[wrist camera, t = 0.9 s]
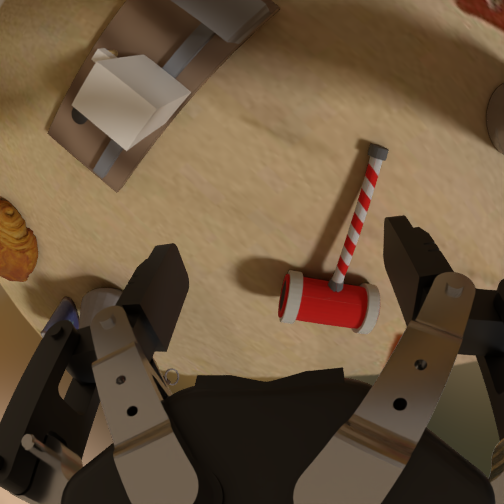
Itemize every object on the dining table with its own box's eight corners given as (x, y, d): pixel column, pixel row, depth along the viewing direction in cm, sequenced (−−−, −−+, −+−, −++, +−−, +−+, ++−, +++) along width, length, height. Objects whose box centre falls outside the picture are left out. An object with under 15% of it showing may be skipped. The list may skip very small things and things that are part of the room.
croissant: (-13, 221, 44) (-39, 246, 38) (1, 180, 36) (-34, 209, 30) (31, 274, 50) (8, 303, 44) (55, 248, 42) (24, 283, 36)
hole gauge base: (186, -56, 18) (156, -79, 12) (279, 9, 22) (276, -5, 16) (54, 129, 30) (14, 152, 24) (122, 187, 35) (91, 219, 29)
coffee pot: (114, 330, 52) (82, 399, 40) (77, 284, 46) (33, 354, 34) (218, 318, 46) (196, 408, 34) (183, 259, 40) (143, 353, 28)
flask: (62, 294, 48) (33, 338, 40) (75, 299, 49) (47, 345, 40) (70, 325, 54) (47, 366, 45) (82, 330, 54) (60, 372, 46)
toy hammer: (321, 128, 29) (328, 147, 24) (424, 157, 29) (449, 182, 24) (278, 295, 42) (276, 332, 37) (359, 308, 42) (365, 344, 37)
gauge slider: (123, 35, 22) (66, 39, 15) (194, 90, 26) (157, 109, 19) (101, 67, 24) (44, 82, 17) (168, 121, 28) (126, 151, 21)
